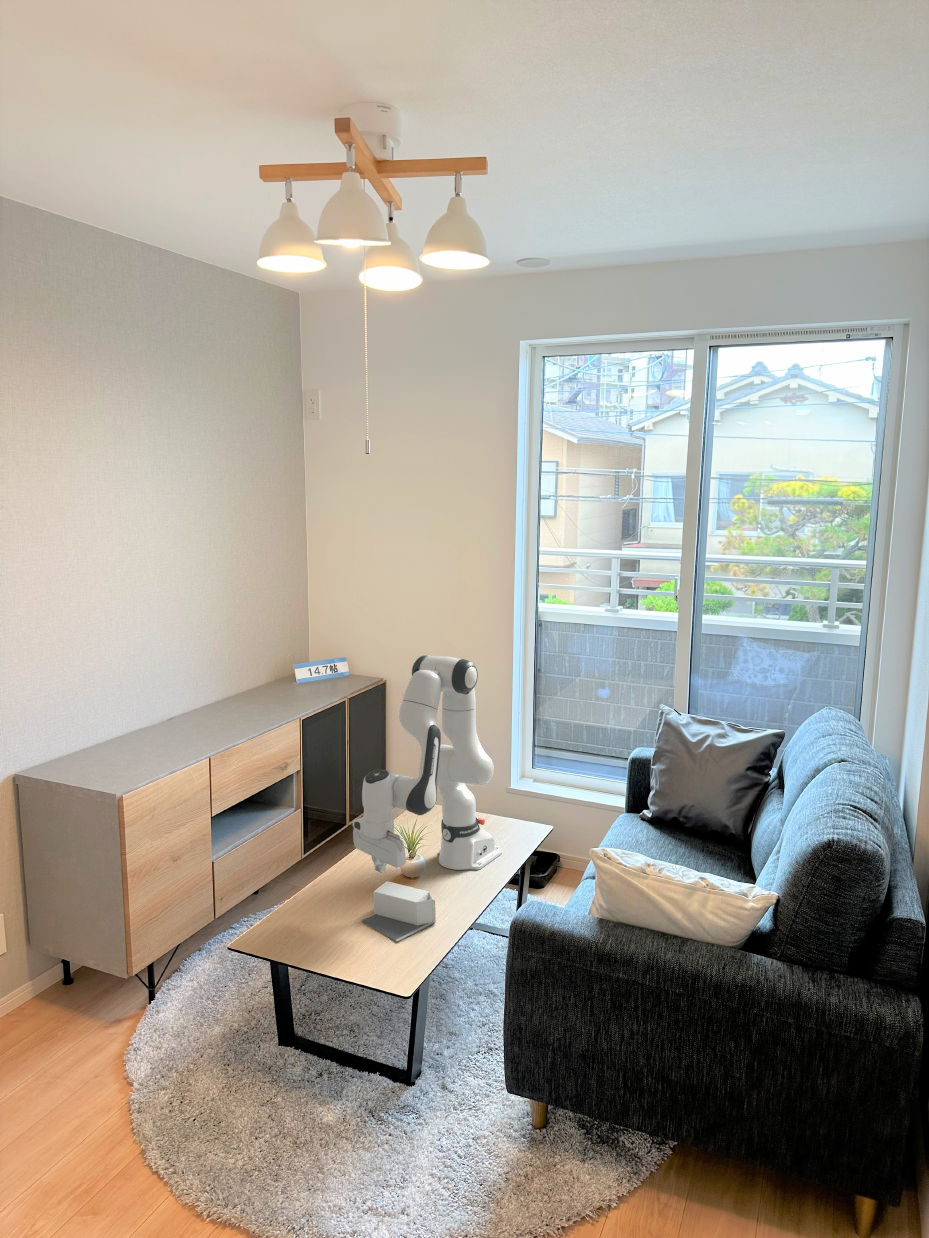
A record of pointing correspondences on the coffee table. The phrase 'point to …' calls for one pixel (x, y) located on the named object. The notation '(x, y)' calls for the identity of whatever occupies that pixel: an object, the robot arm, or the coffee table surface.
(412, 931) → the mat
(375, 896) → the milk carton
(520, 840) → the coffee table surface
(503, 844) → the coffee table surface
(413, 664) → the robot arm
